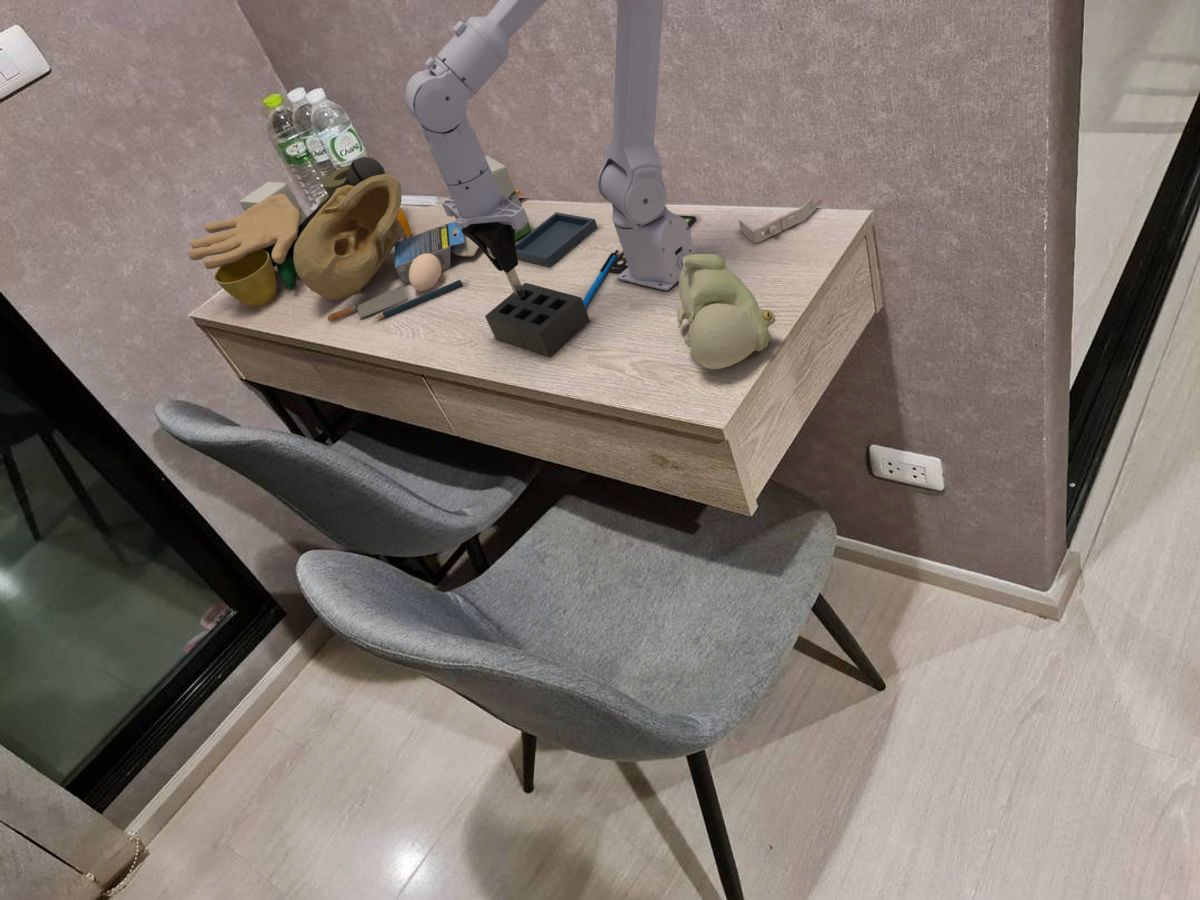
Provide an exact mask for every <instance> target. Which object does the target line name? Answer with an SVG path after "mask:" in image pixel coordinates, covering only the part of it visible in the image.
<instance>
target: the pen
mask: <svg viewBox="0 0 1200 900" xmlns="http://www.w3.org/2000/svg"><path fill="white" fill-rule="evenodd" d="M618 253H619V250H618V249H616V250H615V251H614V252H611V253H610V254H609V256H608V257H607V259H606V261H605V262H604V264H603V266H601V268H600V270H599V274H598V275H597V277H596V278H595V280H594V282H593V284H592V285H591V286H590V288H589V290H588V291H587V293H586V295H585V296H584V298H582V301H583V304H584V306H585V309H586V308H587V306H588V305H589V303H590V301H591V300H592V298H593V297H594V295H595V293H596V292H597V290H598V288H599V287H600V285H601V284H602V282H603V280H604V279H605V277H606V276H607V274H608V272H609V268H610V266H611V265H612V263H613V262H614V261H615V260H616V259H617V258H618V256H617V255H618Z"/></svg>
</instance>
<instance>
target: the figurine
mask: <svg viewBox="0 0 1200 900" xmlns="http://www.w3.org/2000/svg"><path fill="white" fill-rule="evenodd" d="M682 262H683V268H682V271H681V274H680V277H679V281H678V293H679V294H678V295H679V299H680V303H681V305H682V306H680V307H679V308H678V309H677V311H676V314H677V322H678V324H677V328H678V329H680V328H681V327H682V325H683V321H684V320H685V319H686V320H688V322H689V323H690V324H689V329H688V331H687V333H686V335H685V336H684V344H685V346H687V348H690V352H691V354H692V357H693V359H694V360H695V362H696V363H697V364H698V365H700V366H701V367H703V368H706V369H712V370H719V369H720V370H721V369H726V368H728V367H732V366H734V365H735V364H738V363H739V362H741V361H743V360H745V359H746V358H747V357H749V356H750V355H751V354H753V352H754V351H756V352H761V351H763V350H764V349H766V348H767V347H768V345H769V342H770V341H771V340H772V339H773V338H772V336H771V335H770V333H769V330H768V328H769V327H770V326H772V325H773V324H775V322H776V321H777V319H776V315H775V314H774V312H773V311H772V310H770V309H766V308H765V309H764V308H760V306H759V303H758V302H757V299H756V298H755V296H754V294H753V292H751V290H750V289H749V288H748V287H747V285H746V283H744V281H742V280H741V279H740V277H739V276H737V274H736V273H734V272H733V271H732V270H730V269H729V268H727V267H726V263H725V261H724V259H723V258H722V257H721V256H719V255H716V254H713V253H696V254H694V255H687V256H685V257H684V258H683V259H682Z"/></svg>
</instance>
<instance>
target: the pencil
mask: <svg viewBox="0 0 1200 900" xmlns="http://www.w3.org/2000/svg"><path fill="white" fill-rule="evenodd" d="M462 286H464V284H463V282H462V279H458V280H456V281H453V282H451V283H449V284H446V285H444V286H442V287H439V288H436V289H434V290H432V291H429V292H426V293H425V294H422V295H420V296H418V297H414V298H413V299H410V300H407V301H404V302H402V303H400V304H397V305H395V306H393V307H390V308H388V309H385V310H383V311H382V312H381V313H380V314H379V315H377V316H376V317H375V318H374V320H378V319H385V318H388V317H391V316H393V315H395V314H398V313H401V312H403V311H405V310H407V309H409V308H412V307H414V306H417V305H420V304H422V303H425V302H427V301H429V300H431V299H433V298H436V297H439V296H441V295H444V294H446V293H448V292H451V291H452V290H455V289H458V288H460V287H462Z"/></svg>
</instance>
